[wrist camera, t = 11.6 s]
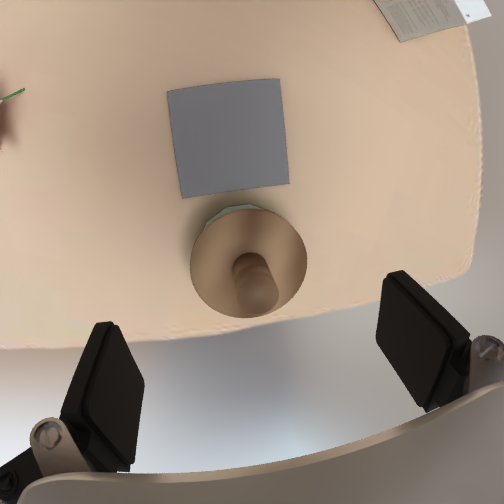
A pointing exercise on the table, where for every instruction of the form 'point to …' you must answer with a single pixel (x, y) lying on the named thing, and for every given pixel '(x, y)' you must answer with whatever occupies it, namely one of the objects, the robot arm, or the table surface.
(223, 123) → the mat
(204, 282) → the lid
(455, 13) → the small box
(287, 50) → the table surface
